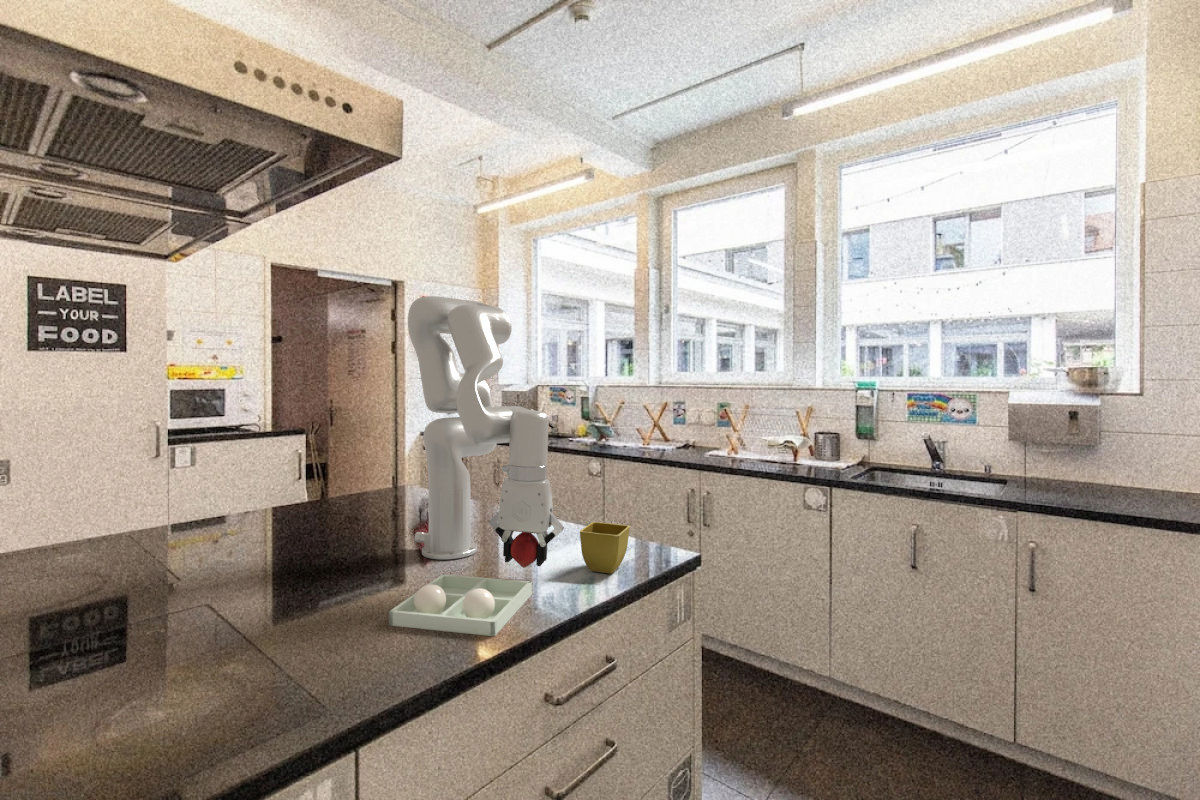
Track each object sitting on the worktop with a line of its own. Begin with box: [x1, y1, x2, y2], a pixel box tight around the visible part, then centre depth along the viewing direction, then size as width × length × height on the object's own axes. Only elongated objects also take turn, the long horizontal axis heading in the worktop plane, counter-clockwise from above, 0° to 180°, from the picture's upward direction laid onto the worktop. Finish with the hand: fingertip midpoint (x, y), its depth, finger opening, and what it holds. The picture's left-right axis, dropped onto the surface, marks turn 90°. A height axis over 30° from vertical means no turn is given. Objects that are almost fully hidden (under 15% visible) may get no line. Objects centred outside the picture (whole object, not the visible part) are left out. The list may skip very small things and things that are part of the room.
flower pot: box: [579, 521, 631, 575], centre depth 122 cm, size 9×9×9 cm
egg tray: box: [388, 573, 533, 637], centre depth 98 cm, size 18×18×3 cm
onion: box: [510, 532, 539, 569], centre depth 113 cm, size 6×6×8 cm
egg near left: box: [414, 583, 446, 614], centre depth 95 cm, size 5×5×5 cm
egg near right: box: [463, 588, 495, 619], centre depth 93 cm, size 5×5×5 cm
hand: (524, 561), depth 113 cm, fingers closed on onion, 5 cm apart
